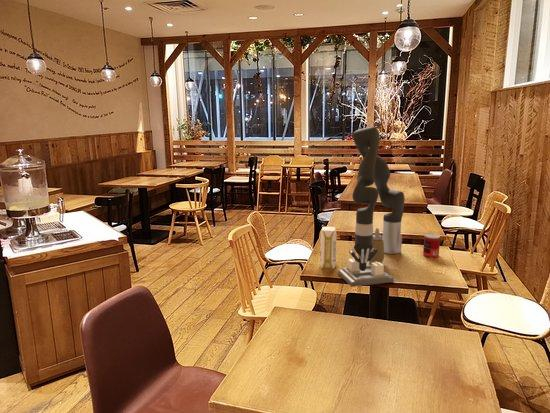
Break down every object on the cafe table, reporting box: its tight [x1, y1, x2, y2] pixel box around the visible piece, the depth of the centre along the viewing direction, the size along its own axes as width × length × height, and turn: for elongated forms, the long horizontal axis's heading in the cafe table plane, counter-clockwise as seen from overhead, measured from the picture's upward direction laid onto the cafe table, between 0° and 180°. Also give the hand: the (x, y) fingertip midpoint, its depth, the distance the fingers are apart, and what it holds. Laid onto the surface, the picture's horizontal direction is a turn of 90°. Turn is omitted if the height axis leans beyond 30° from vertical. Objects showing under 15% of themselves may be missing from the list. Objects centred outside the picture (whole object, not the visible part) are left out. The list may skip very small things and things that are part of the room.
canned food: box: [422, 233, 441, 259], centre depth 215 cm, size 8×8×11 cm
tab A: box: [347, 257, 360, 272], centre depth 190 cm, size 4×4×6 cm
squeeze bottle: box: [368, 227, 385, 265], centre depth 204 cm, size 8×8×18 cm
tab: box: [370, 261, 385, 276], centre depth 185 cm, size 4×4×6 cm
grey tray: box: [337, 264, 395, 288], centre depth 188 cm, size 20×15×3 cm
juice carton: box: [319, 226, 337, 270], centre depth 201 cm, size 8×9×19 cm
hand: (362, 270), depth 183 cm, fingers closed
